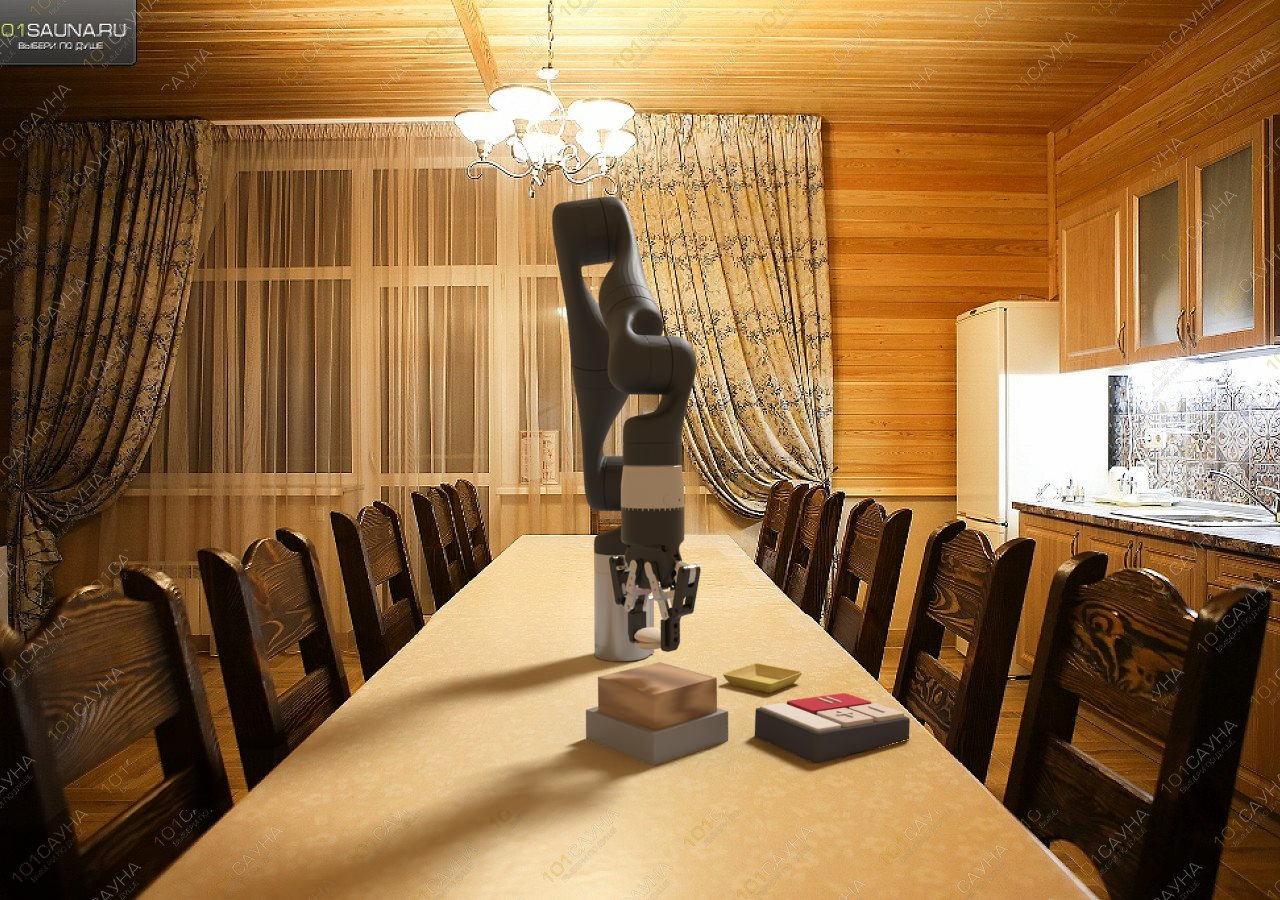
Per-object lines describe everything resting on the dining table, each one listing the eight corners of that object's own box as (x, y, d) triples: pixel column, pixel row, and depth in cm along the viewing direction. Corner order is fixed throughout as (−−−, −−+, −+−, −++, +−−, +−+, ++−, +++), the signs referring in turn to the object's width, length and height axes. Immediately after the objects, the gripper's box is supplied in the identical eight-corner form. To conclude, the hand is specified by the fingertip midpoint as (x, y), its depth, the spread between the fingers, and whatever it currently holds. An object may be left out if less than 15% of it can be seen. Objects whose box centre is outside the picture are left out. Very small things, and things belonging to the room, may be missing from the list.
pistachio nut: (650, 643, 106) (650, 623, 106) (682, 650, 103) (682, 628, 103) (627, 650, 103) (627, 629, 103) (660, 657, 100) (660, 635, 100)
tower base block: (659, 721, 111) (659, 690, 111) (728, 744, 102) (728, 711, 102) (586, 743, 103) (585, 709, 103) (653, 770, 94) (653, 734, 94)
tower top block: (659, 693, 110) (659, 662, 110) (717, 711, 102) (716, 677, 102) (598, 710, 103) (597, 676, 103) (654, 730, 96) (654, 694, 96)
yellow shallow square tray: (721, 687, 126) (721, 673, 126) (755, 675, 133) (755, 661, 133) (770, 699, 120) (770, 684, 120) (803, 686, 127) (803, 671, 127)
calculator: (911, 711, 102) (817, 726, 95) (910, 748, 102) (816, 766, 95) (844, 689, 112) (754, 701, 104) (843, 723, 112) (752, 737, 104)
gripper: (718, 505, 100) (719, 652, 100) (636, 499, 110) (637, 632, 111) (671, 508, 95) (672, 663, 95) (590, 502, 105) (591, 641, 106)
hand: (653, 645), depth 103 cm, fingers closed on pistachio nut, 5 cm apart
